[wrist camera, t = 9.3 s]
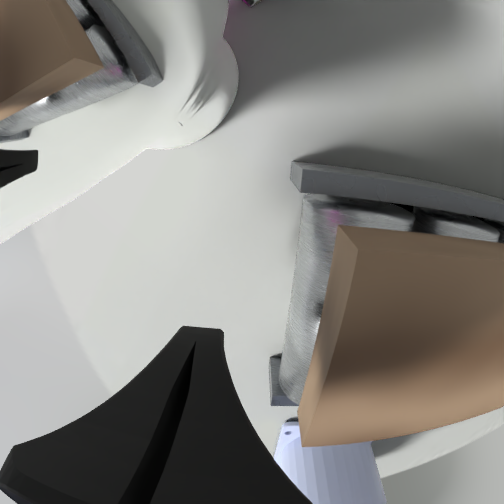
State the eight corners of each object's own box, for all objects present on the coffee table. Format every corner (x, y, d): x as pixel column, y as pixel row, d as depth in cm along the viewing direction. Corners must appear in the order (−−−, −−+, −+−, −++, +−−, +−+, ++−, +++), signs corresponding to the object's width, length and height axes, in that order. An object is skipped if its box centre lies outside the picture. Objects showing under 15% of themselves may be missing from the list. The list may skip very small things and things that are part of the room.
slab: (488, 384, 12) (502, 406, 10) (297, 411, 12) (301, 447, 10) (549, 250, 9) (574, 266, 7) (337, 224, 9) (358, 249, 7)
